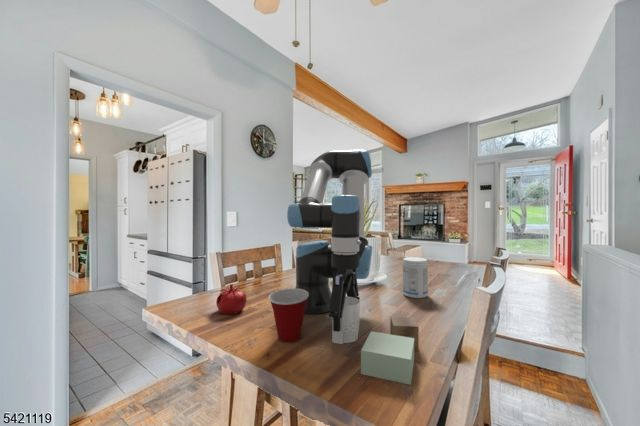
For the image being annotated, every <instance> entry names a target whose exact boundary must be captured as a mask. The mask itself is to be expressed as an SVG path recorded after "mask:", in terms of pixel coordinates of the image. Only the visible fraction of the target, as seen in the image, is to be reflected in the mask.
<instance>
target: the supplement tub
mask: <svg viewBox="0 0 640 426" xmlns="http://www.w3.org/2000/svg"><path fill="white" fill-rule="evenodd" d="M428 268H429V265H428V259H426V258H423V257H416V256H415V257H414V256H413V257H411V256H409V257H404V258H402V293H403V295H404V296H405V297H408V298H412V299H413V298H414V299H424V298H426V297H428V295H429V277H428V276H429V274H428V272H429V270H428Z"/></svg>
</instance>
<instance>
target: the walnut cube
mask: <svg viewBox="0 0 640 426" xmlns="http://www.w3.org/2000/svg"><path fill="white" fill-rule="evenodd" d="M389 317H390V319H389V320H390V322H389V323H390V327H389V328H390V329H389V330H390V333H389V334H391V335H397V336H403V337H410V338H414V352H419V345H420V344H419V342H420V341H419V339H420V338H419V333H420V332H419V325H418V323H417V321H416V319H415V317H412V316H411V317H409V316H389Z"/></svg>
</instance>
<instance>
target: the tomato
mask: <svg viewBox="0 0 640 426" xmlns="http://www.w3.org/2000/svg"><path fill="white" fill-rule="evenodd" d="M225 288H227V289H221V290H219V292H220V294H219V295H218V296H217V298H216V301H215V302H216V307H217V310H218V311H219V312H220V313H221V314H223V315H234V314H238V313H240V312H241V311H243V309H244V308H245V307H246V305H247V301H248V300H247V299H248V297H247V294H246V293H245V292H244V291H241V290H242V289H244V288H242V287H240V286H238V287H236V286H234V284H233V283H232V284H229V287H228V286H227V287H225ZM239 289H241V290H239Z"/></svg>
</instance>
